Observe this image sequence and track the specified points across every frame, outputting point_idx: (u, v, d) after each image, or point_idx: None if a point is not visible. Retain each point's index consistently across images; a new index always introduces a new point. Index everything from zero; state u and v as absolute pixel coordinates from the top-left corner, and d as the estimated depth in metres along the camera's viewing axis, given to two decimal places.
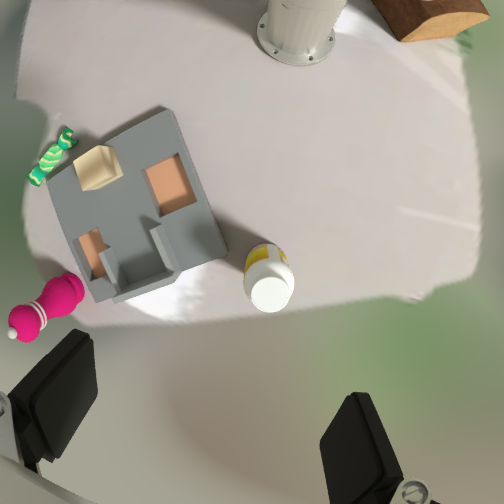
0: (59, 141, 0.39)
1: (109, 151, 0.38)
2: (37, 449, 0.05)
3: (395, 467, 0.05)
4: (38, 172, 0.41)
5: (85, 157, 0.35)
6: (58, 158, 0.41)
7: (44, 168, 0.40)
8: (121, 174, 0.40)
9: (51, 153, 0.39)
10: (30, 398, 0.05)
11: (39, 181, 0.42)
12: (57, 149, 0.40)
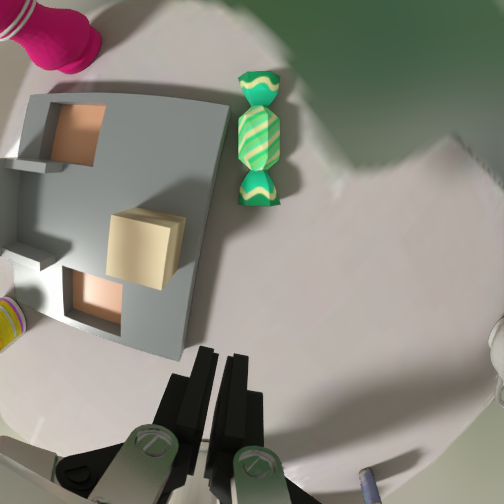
0: (263, 180, 0.24)
1: None
2: (186, 472, 0.06)
3: (238, 428, 0.06)
4: (255, 98, 0.23)
5: (158, 256, 0.21)
6: (240, 154, 0.24)
7: (244, 118, 0.23)
8: None
9: (256, 152, 0.23)
10: (196, 424, 0.06)
11: (242, 86, 0.23)
12: (254, 165, 0.24)
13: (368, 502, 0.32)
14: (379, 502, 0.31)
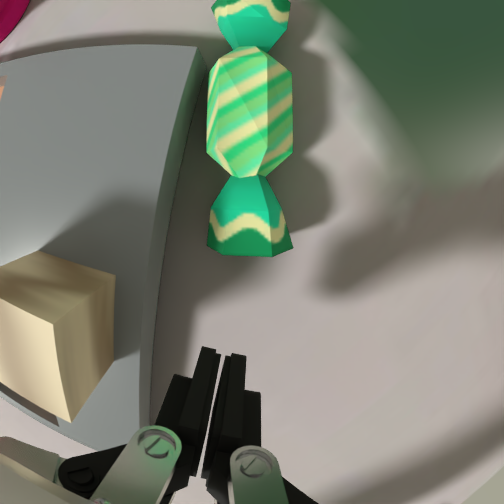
0: (257, 200, 0.11)
1: None
2: None
3: (235, 428, 0.06)
4: (242, 32, 0.10)
5: (48, 372, 0.08)
6: (209, 144, 0.11)
7: (217, 67, 0.10)
8: None
9: (241, 137, 0.10)
10: (199, 425, 0.06)
11: (218, 18, 0.10)
12: (237, 166, 0.11)
13: None
14: None
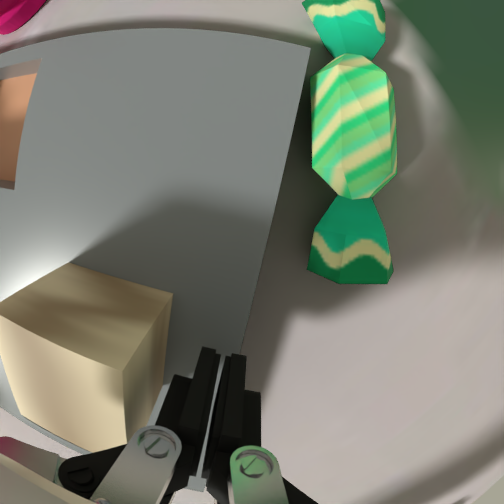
0: (373, 225, 0.10)
1: None
2: None
3: (235, 428, 0.06)
4: (350, 38, 0.08)
5: (106, 420, 0.07)
6: (319, 159, 0.10)
7: (335, 75, 0.08)
8: None
9: (366, 158, 0.09)
10: (199, 425, 0.06)
11: (315, 16, 0.09)
12: (355, 188, 0.10)
13: None
14: None
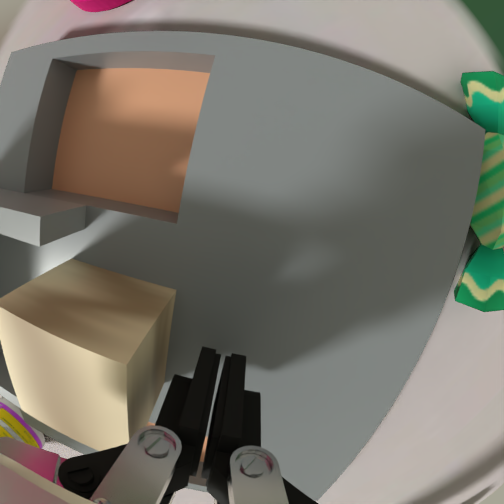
0: None
1: None
2: None
3: (235, 428, 0.06)
4: (502, 121, 0.09)
5: (109, 415, 0.07)
6: (479, 220, 0.11)
7: (501, 158, 0.09)
8: None
9: None
10: (199, 425, 0.06)
11: (476, 92, 0.09)
12: (498, 243, 0.10)
13: None
14: None
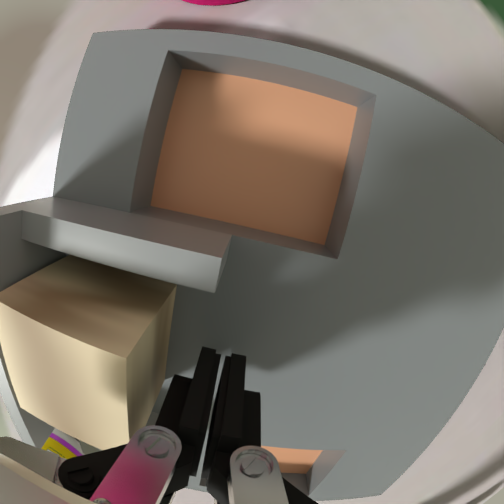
0: None
1: None
2: None
3: (235, 428, 0.06)
4: None
5: (108, 411, 0.07)
6: None
7: None
8: None
9: None
10: (199, 425, 0.06)
11: None
12: None
13: None
14: None
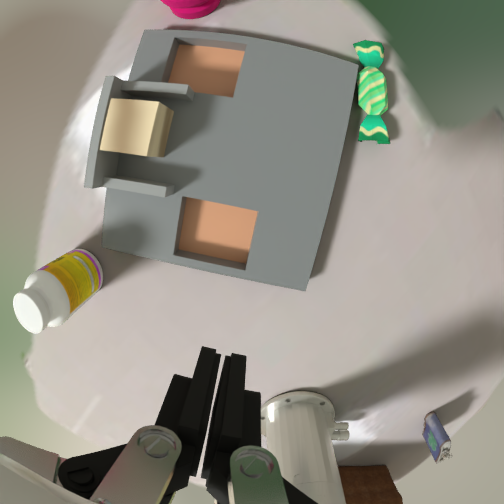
0: (381, 122, 0.26)
1: None
2: None
3: (235, 428, 0.06)
4: (371, 60, 0.25)
5: (146, 126, 0.22)
6: (361, 101, 0.27)
7: (366, 74, 0.25)
8: None
9: (377, 100, 0.25)
10: (199, 425, 0.06)
11: (358, 51, 0.25)
12: (373, 110, 0.26)
13: (440, 442, 0.35)
14: (450, 440, 0.34)
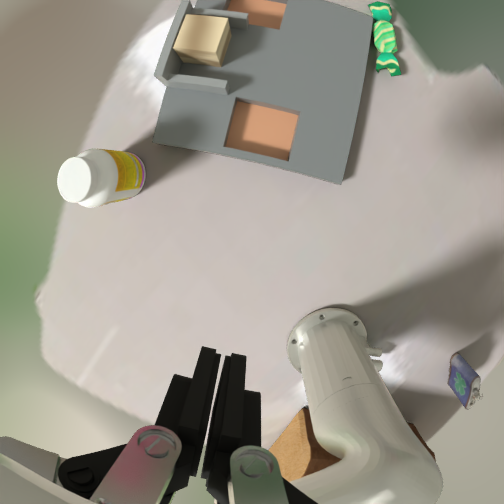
0: (393, 57, 0.29)
1: (212, 61, 0.29)
2: None
3: (235, 428, 0.06)
4: (382, 15, 0.27)
5: (216, 32, 0.25)
6: (376, 42, 0.29)
7: (379, 23, 0.27)
8: (183, 61, 0.30)
9: (389, 41, 0.28)
10: (199, 425, 0.06)
11: (372, 9, 0.28)
12: (386, 48, 0.29)
13: (470, 379, 0.36)
14: (479, 377, 0.35)
